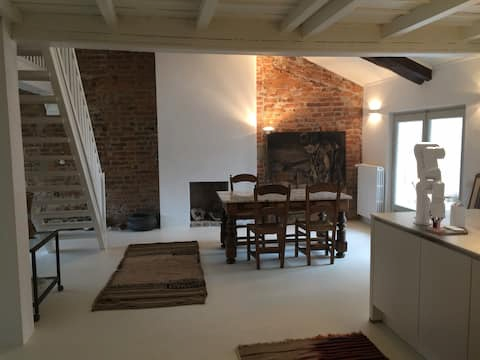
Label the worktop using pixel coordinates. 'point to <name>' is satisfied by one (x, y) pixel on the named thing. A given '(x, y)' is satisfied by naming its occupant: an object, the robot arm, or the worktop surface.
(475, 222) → the worktop surface
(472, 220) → the worktop surface
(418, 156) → the robot arm
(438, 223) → the stub
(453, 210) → the milk carton
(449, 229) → the board
